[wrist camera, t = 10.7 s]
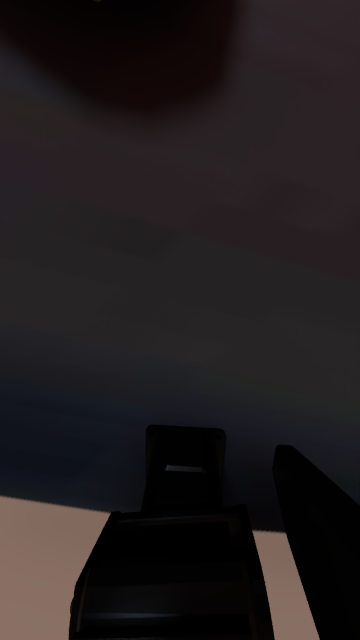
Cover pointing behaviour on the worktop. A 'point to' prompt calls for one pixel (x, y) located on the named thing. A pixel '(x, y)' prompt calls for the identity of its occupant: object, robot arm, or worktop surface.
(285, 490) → the robot arm
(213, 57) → the worktop surface
